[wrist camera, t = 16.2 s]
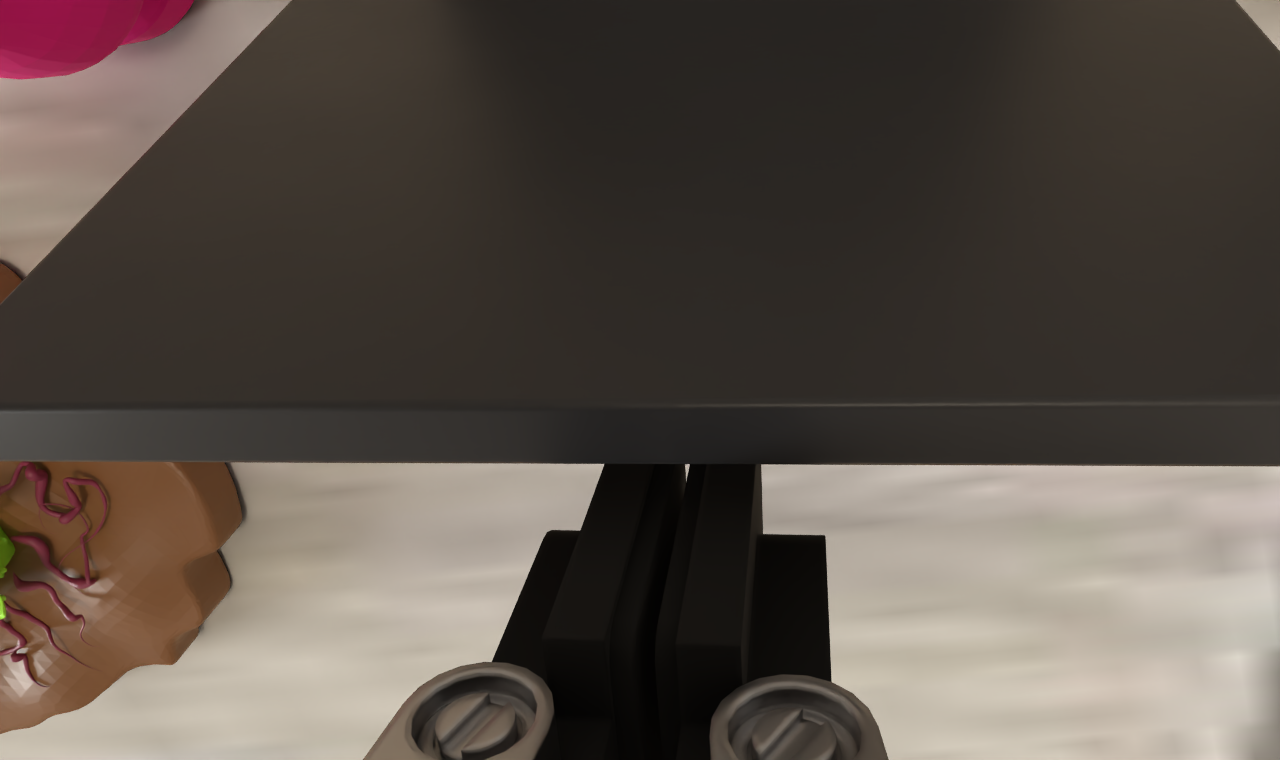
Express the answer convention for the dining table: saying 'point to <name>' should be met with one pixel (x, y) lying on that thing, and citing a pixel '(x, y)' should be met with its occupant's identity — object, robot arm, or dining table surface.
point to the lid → (683, 242)
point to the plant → (102, 571)
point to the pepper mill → (76, 32)
